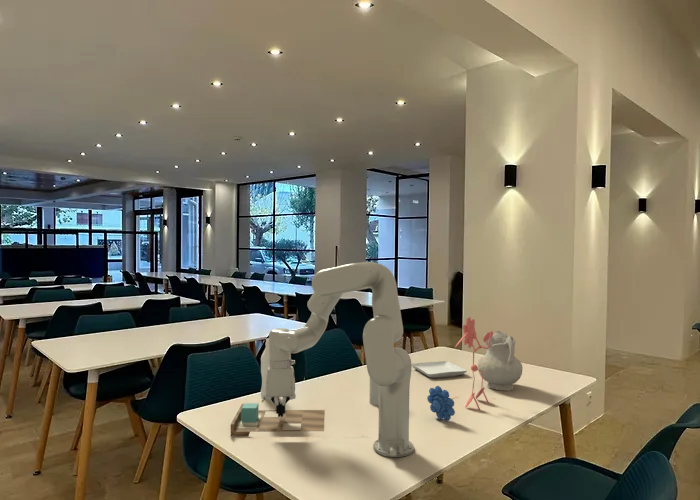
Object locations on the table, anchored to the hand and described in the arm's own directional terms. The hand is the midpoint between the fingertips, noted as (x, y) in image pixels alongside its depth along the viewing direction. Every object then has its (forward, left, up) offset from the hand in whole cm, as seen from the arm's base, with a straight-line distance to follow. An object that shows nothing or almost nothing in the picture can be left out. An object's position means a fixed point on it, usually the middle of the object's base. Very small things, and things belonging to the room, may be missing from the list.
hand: (280, 415), depth 167 cm
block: (+1, +11, -2) cm, 11 cm away
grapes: (+3, -57, -4) cm, 58 cm away
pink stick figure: (+21, -73, -3) cm, 77 cm away
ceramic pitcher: (+41, -94, -4) cm, 103 cm away
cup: (+22, -37, -4) cm, 44 cm away
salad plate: (+66, -71, -4) cm, 98 cm away
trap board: (0, 0, -3) cm, 3 cm away
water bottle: (+27, +8, -3) cm, 28 cm away
